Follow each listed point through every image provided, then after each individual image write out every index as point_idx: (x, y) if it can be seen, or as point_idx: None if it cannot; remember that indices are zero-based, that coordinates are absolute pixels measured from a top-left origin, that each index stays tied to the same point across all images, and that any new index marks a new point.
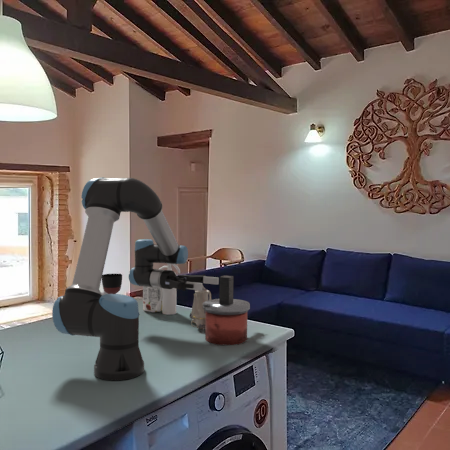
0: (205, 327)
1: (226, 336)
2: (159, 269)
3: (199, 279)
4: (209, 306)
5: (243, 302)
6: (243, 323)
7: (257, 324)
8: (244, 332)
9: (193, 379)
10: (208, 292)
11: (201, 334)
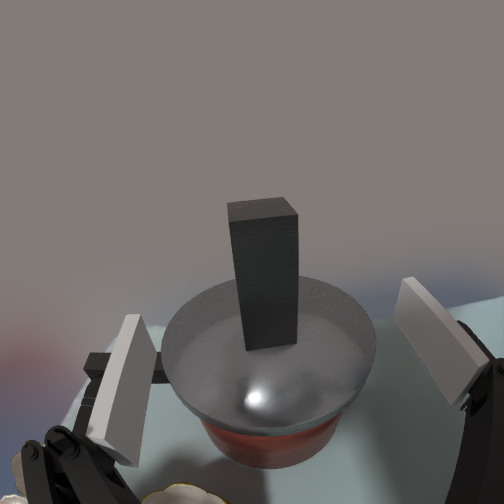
0: (325, 435)
1: None
2: None
3: (124, 494)
4: (364, 343)
5: (210, 301)
6: None
7: None
8: None
9: (471, 303)
10: (25, 500)
11: (280, 493)
